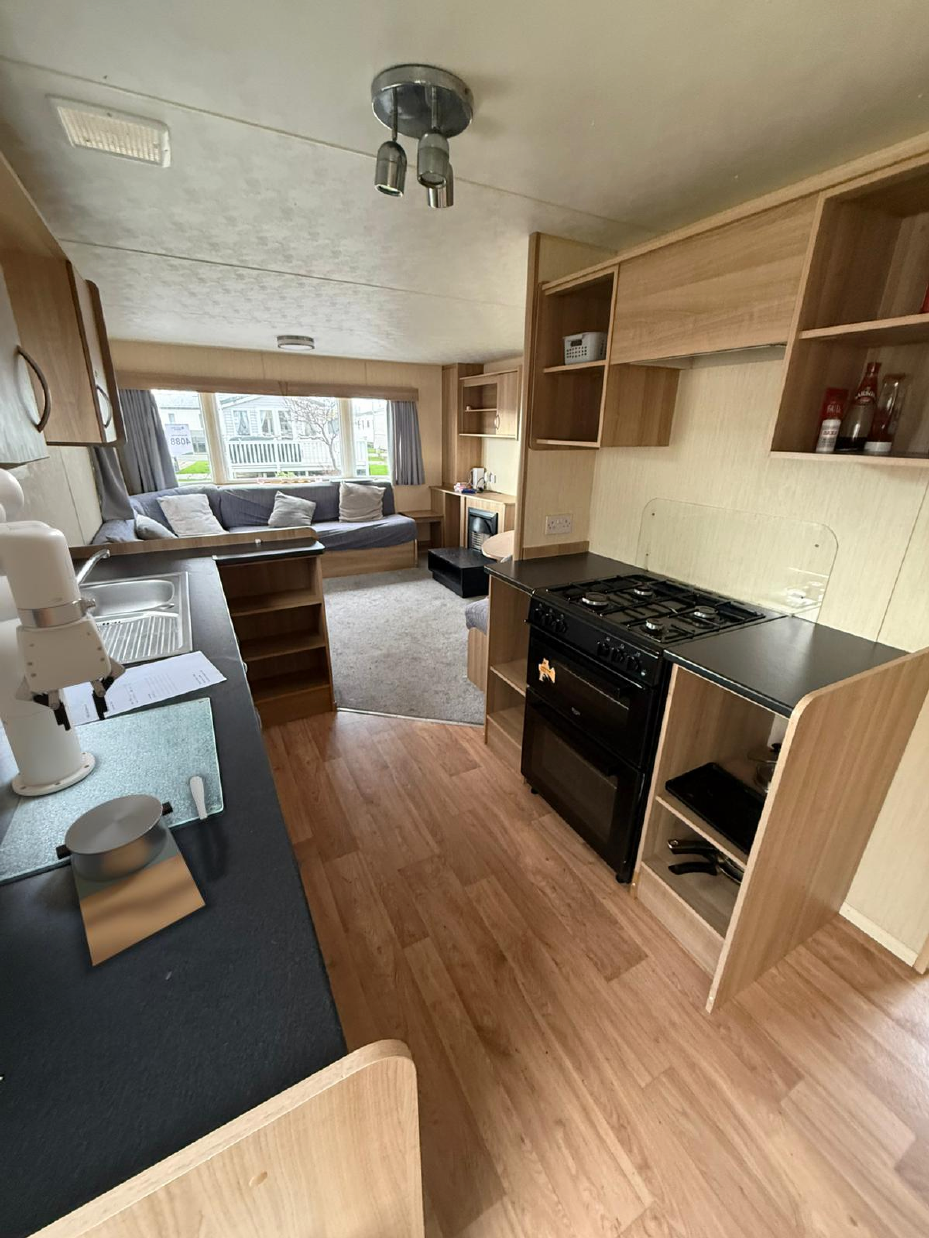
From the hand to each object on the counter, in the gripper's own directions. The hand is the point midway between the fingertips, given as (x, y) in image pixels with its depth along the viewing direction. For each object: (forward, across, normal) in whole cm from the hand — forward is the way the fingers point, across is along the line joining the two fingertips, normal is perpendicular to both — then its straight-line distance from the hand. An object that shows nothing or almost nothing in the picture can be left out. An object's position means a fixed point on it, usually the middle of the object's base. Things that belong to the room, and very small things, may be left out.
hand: (84, 720), depth 80 cm
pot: (+19, 0, +10) cm, 21 cm away
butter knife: (+20, -12, +11) cm, 25 cm away
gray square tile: (+19, 0, +10) cm, 22 cm away
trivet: (+19, 0, +23) cm, 30 cm away
